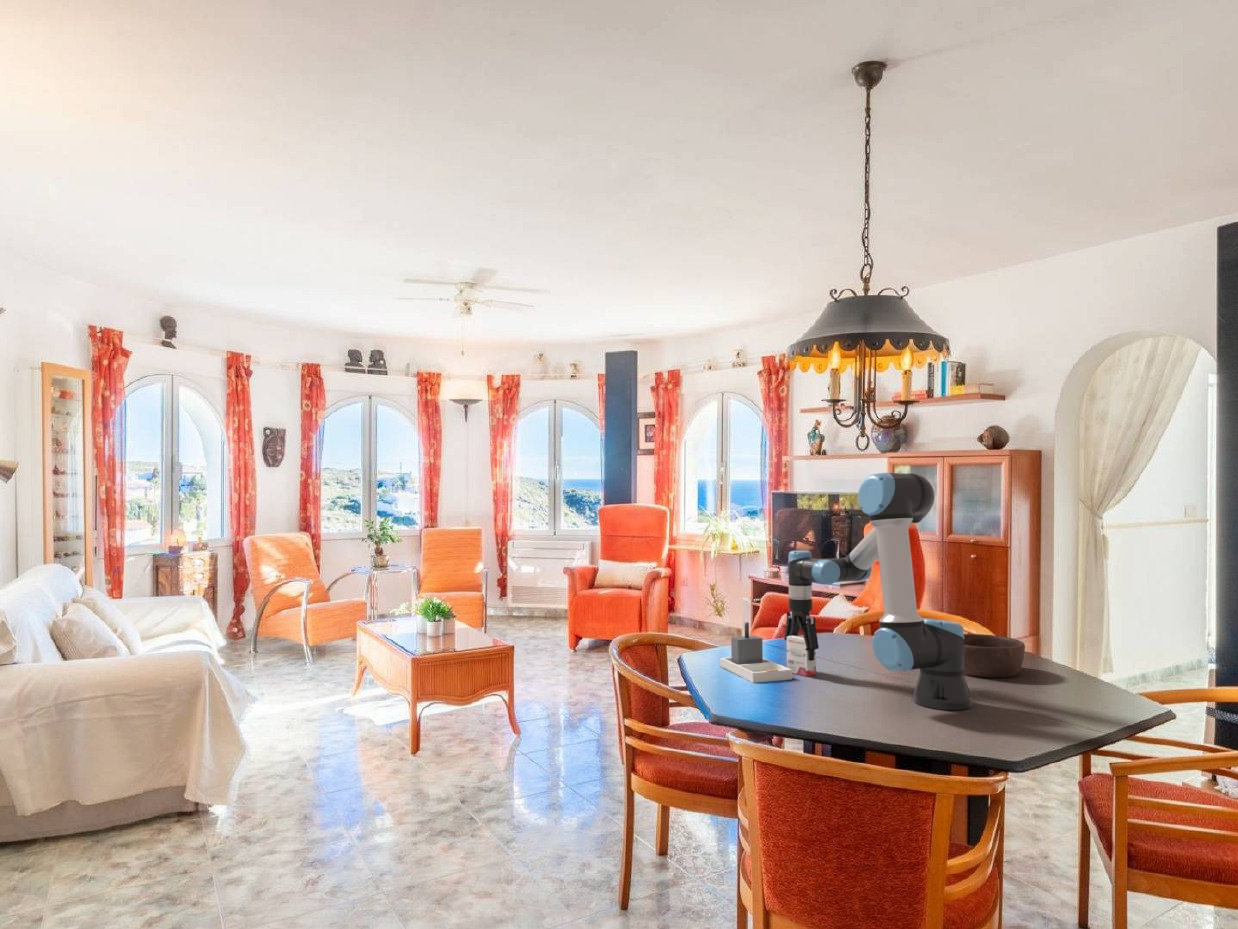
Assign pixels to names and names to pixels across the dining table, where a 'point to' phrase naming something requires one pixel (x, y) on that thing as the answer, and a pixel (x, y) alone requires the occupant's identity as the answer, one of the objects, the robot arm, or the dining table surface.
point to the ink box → (798, 656)
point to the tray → (757, 670)
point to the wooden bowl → (992, 656)
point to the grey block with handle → (746, 648)
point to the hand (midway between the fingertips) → (801, 666)
